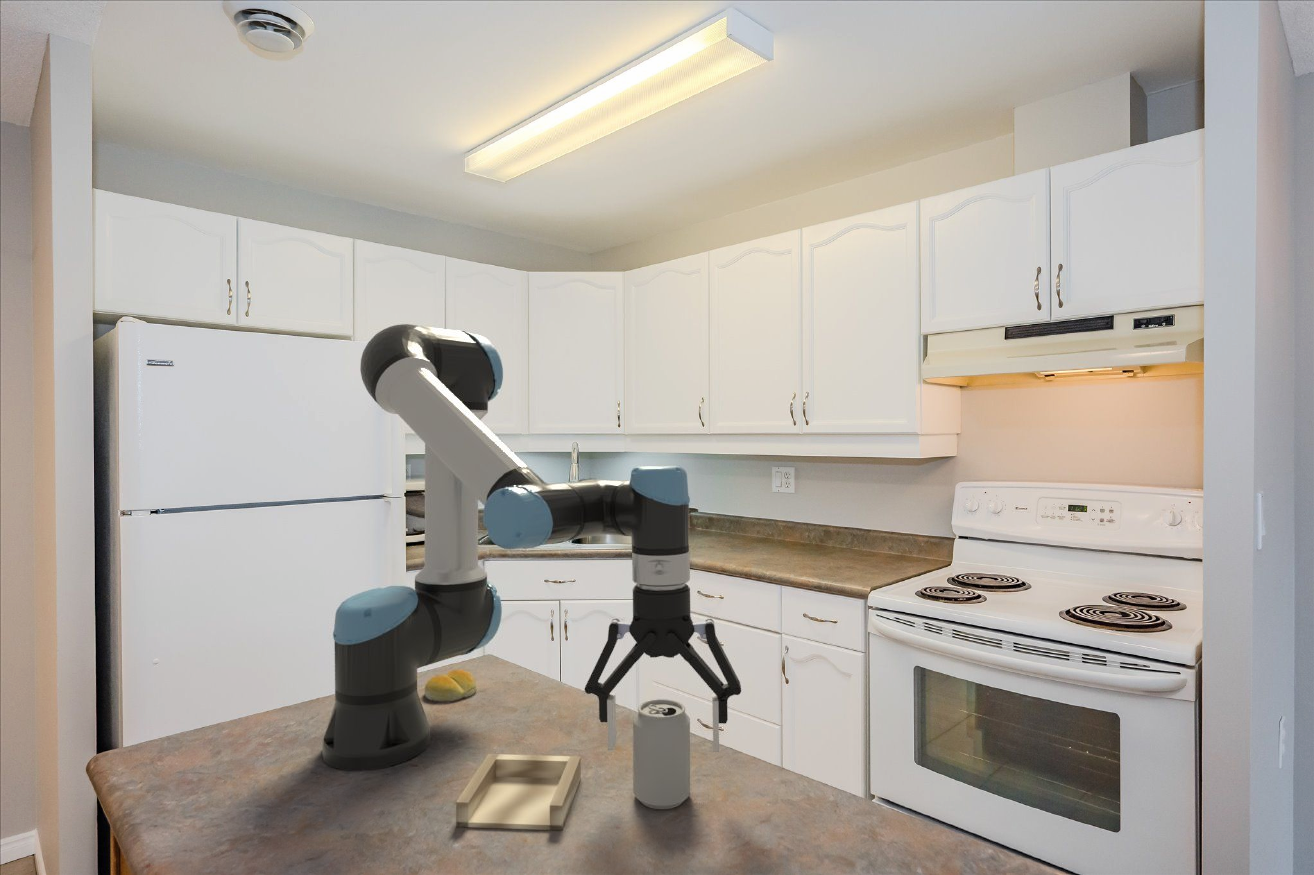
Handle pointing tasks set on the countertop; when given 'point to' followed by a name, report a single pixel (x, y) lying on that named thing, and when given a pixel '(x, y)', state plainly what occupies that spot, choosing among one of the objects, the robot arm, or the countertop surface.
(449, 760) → the countertop surface
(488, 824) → the can rest
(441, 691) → the bread roll
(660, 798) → the can
